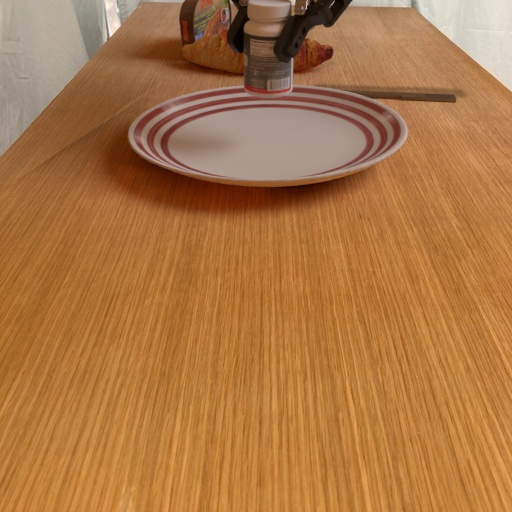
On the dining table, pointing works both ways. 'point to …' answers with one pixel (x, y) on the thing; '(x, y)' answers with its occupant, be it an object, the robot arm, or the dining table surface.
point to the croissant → (224, 58)
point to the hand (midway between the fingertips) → (256, 52)
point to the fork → (406, 95)
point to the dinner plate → (267, 135)
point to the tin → (203, 19)
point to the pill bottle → (266, 49)
